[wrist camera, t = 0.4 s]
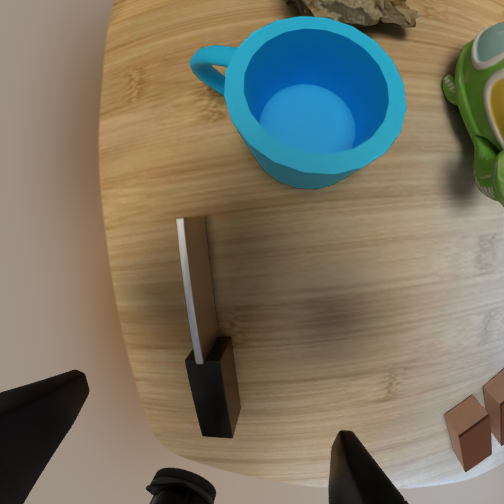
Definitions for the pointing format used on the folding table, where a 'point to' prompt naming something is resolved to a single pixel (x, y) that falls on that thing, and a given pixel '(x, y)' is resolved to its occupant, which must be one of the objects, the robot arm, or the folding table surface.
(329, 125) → the mug
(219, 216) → the folding table surface
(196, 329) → the knife
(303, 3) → the mineral specimen
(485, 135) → the turtle holder
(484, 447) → the brown block
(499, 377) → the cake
